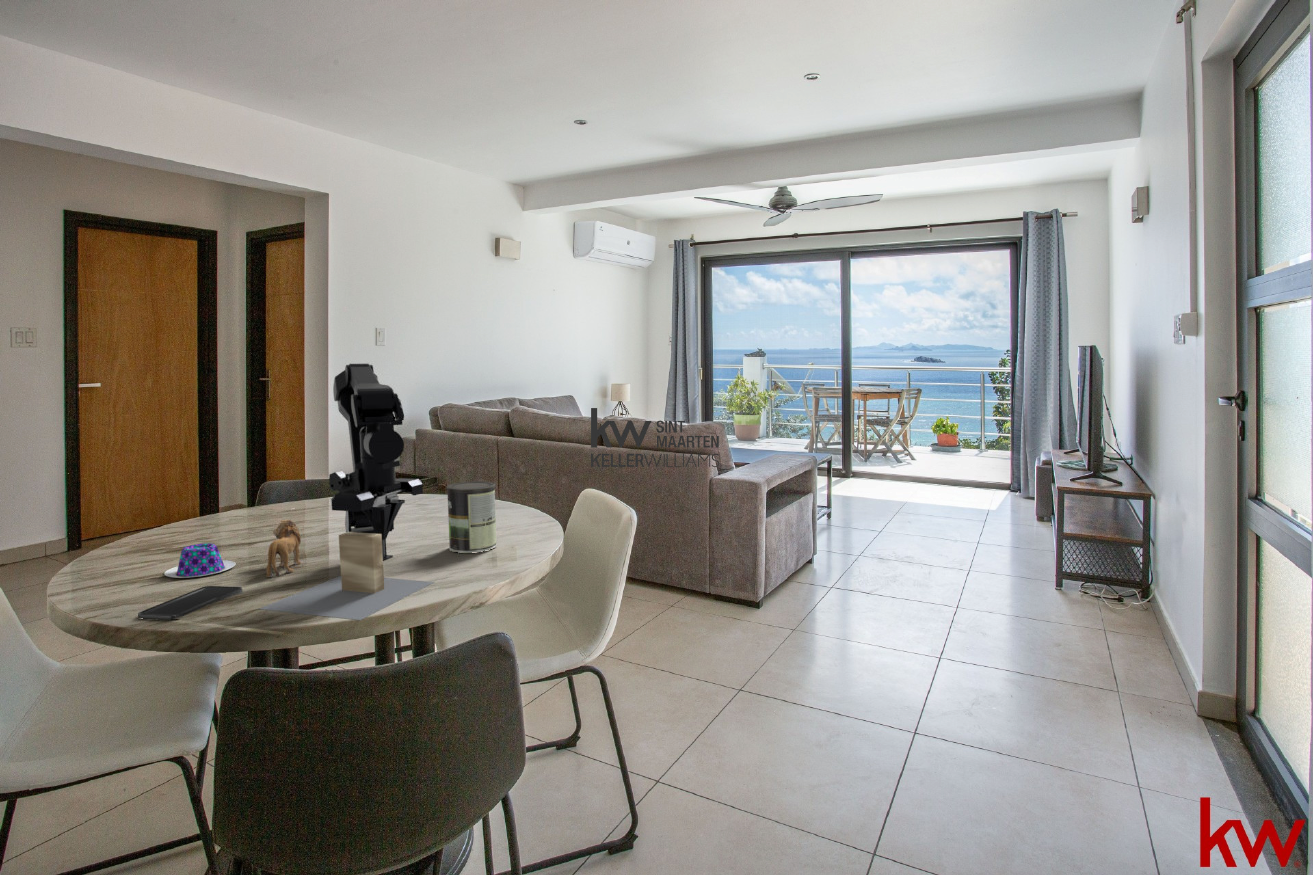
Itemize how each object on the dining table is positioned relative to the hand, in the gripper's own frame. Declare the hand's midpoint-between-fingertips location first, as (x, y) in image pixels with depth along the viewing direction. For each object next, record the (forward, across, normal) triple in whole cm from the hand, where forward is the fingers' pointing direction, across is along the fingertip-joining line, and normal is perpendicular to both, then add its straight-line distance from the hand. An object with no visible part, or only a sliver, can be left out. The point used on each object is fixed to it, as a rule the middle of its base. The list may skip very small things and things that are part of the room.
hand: (382, 539), depth 130 cm
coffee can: (+8, -26, +3) cm, 28 cm away
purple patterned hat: (+8, +3, -41) cm, 42 cm away
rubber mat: (+8, +9, 0) cm, 12 cm away
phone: (+9, +19, -24) cm, 32 cm away
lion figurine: (+8, -3, -26) cm, 27 cm away
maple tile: (+8, +6, 0) cm, 10 cm away
